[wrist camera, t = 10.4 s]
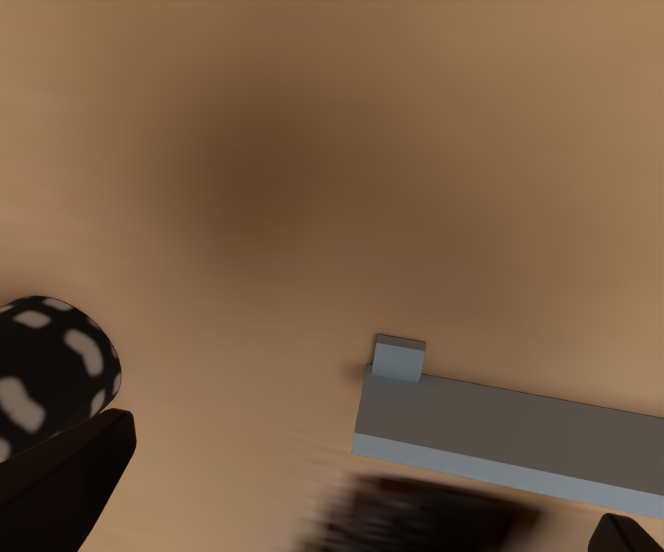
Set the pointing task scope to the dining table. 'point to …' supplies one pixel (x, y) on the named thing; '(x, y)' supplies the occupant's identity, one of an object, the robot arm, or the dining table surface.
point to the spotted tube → (50, 371)
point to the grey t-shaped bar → (507, 435)
